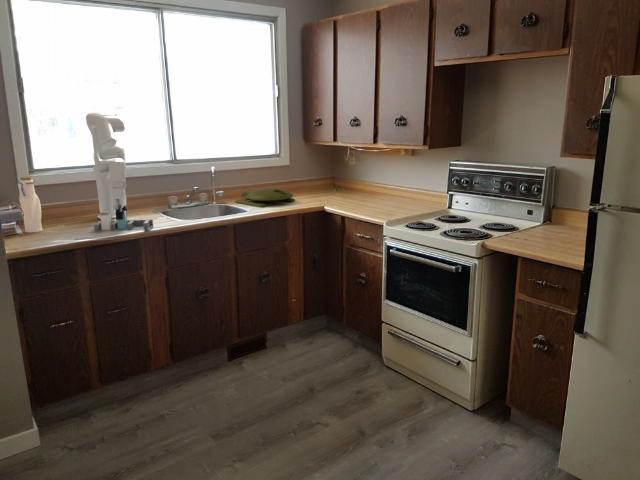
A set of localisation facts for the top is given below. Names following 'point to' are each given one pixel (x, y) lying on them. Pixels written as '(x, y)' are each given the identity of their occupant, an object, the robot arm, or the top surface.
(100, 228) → the comb rack
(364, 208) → the top surface
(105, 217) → the white plug
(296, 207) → the top surface
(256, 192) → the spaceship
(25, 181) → the water bottle
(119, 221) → the teal plug
